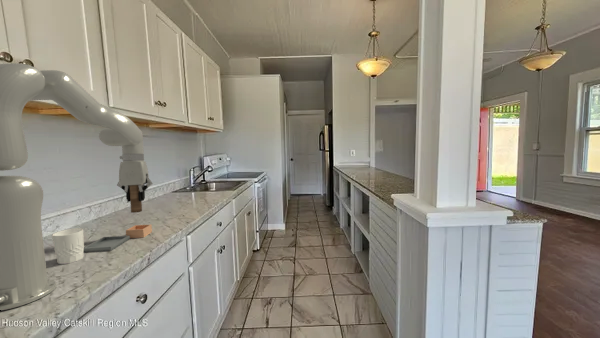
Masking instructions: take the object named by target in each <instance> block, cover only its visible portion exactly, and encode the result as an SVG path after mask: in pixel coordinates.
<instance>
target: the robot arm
mask: <svg viewBox="0 0 600 338" xmlns="http://www.w3.org/2000/svg"><path fill="white" fill-rule="evenodd" d="M30 101H53V102H54V103H56V104H57V105H58V106H60V107H61V108H62V109H63V110H66V112H67V113H69V114H70V115H71V116H72V117H74V118H75V119H77V120H78V121H80V122H83V123H86V124H88V125H93V126H99V127H103V128H102V129H101V130H100V131H99V133H98V137H99V140H100V142H101V143H102V144H104V145H106V146H108V147H109V146H110V147H122V148H121V151H122V152H121V153H122V154H121V155H119V160H122V161H120V164H119V171H118V182H117V184H116V186H117V187H119V188H121V189H122V191H124V193H125V196H126V197H125V198H126V201H127V203H128V202H129V203H130V187H129V185H138V186H139V190H140V192H138V196H139V201H142V202H143V201H145V199H146V194H145V193H146V190H147V189H148V188H149V187H151V186H152V185H153V184H154V183H153V182H152V180H151V179H150V175H149V167H148V165H147V161H145V157H144V156H145V153H144V137H143V136H144V135H143V131H142V130H141V129H140V128H139V127H138V125H137V124H136V123H135V122H134V121H133V120H132V119H130V118H129V117H128V116H126V115H125V114H122V113H121V112H119V111H118V110H115V109H112V108H111V107H108V106H106V105H103V104H101V103H100V102H99V101H98V100H96V98H95V97H94V96H92V94H90V93H89V92H88V91H87V90H86V89H85V88H84V87H83V86H82V85H81V84H79V83H78V82H77V80H75V79H74V78H73V77H72V76H71V75H69V74H68V73H66V72H63V71H60V70H54V69H49V70H48V69H46V70H45V69H43V70H40V69H38V68H37V67H34V66H33V65H29V64H26V63H20V62H19V63H17V62H16V63H14V62H13V63H9V62H8V63H0V171H1V172H3V171H12V170H17V169H20V168H22V167H23V166H24V165H26V163H27V161H28V157H29V155H28V154H29V153H28V147H27V142H26V136H25V131H24V124H23V111H24V108H25V106H26V104H27V103H29V102H30ZM43 201H44V190H43V188H42V186H41V184H40V183H39V182H38V181H37V180H34V179H33V178H30V177H26V176H21V175H0V310H1V311H6V310H10V309H14V308H18V307H21V306H24V305H28V304H30V303H33V302H35V301H37V300H39V299H41V298H44V297H46V296H48V295H49V294H50V293H52V292H54V290H55V289H56V287H57V282H56V280H54V279H50V278H49V279H48V272H47V264H46V256H45V255H46V254H45V247H44V246H45V244H44V236H43V230H42V229H43V228H42V217H41V216H42V207H43Z"/></svg>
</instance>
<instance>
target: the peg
mask: <svg viewBox="0 0 600 338" xmlns="http://www.w3.org/2000/svg"><path fill="white" fill-rule="evenodd" d="M129 187H130V202H129V203H130V213H131V214H132V213H133V214H134V213H135V214H136V213H141V212H143V203H142V202H143V201H139V196H138V192H140V190H139V186H138V185H129Z"/></svg>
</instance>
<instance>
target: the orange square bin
mask: <svg viewBox="0 0 600 338" xmlns="http://www.w3.org/2000/svg"><path fill="white" fill-rule="evenodd" d="M152 228H153V227H152V224H137V225H136V224H134V225H133V226H131V227H129V228H127V229H126V230H125V236H130V239H139V238H140V239H141V238H143V239H144V238H145V237H147V236H149V235H151V234H152V233H153V229H152Z"/></svg>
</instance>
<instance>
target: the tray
mask: <svg viewBox="0 0 600 338" xmlns="http://www.w3.org/2000/svg"><path fill="white" fill-rule="evenodd" d="M130 240H131V238H130V236H126V235H117V236H116V235H115V236H114V235H113V236H103V237H102V238H99V239H97V240H96V241H93V242H91V243H89V244H88V245H86V246H84V253H95V252H96V253H97V252H99V253H100V252H112V251H114V250H115V249H116V248H118V247H120V246H121V245H123V244H125V243H126V242H128V241H130Z"/></svg>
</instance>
